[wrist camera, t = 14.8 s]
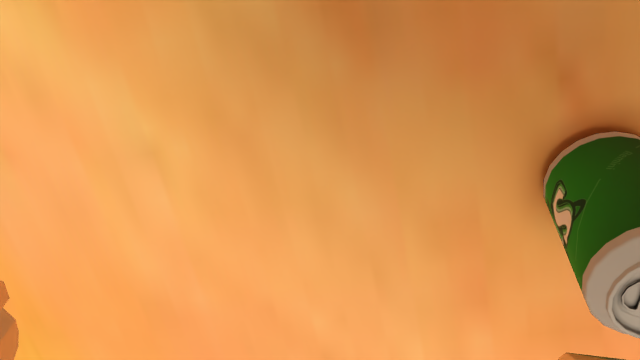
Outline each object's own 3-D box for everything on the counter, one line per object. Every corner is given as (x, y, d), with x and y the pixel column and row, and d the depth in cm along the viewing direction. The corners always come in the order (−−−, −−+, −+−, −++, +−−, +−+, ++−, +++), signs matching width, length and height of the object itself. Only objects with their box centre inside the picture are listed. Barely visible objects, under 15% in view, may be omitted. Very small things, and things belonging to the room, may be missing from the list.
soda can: (549, 122, 38) (609, 239, 28) (672, 123, 37) (778, 244, 27) (530, 216, 42) (577, 348, 32) (641, 219, 41) (723, 354, 31)
